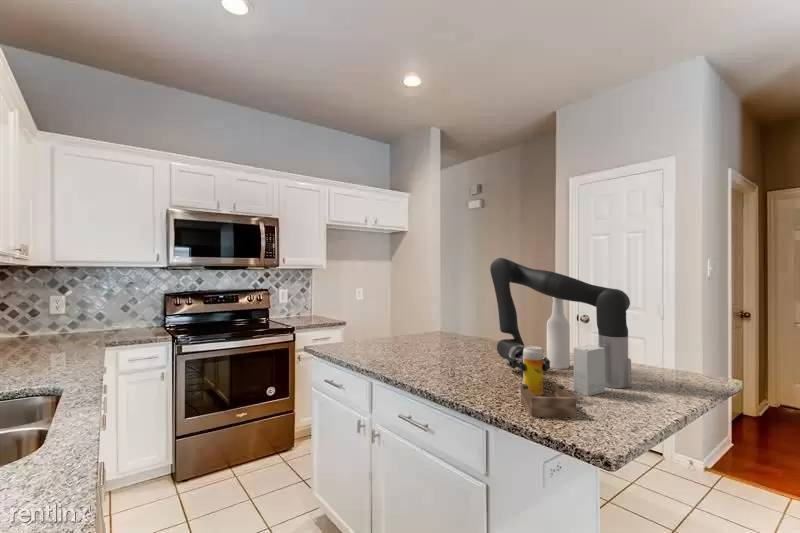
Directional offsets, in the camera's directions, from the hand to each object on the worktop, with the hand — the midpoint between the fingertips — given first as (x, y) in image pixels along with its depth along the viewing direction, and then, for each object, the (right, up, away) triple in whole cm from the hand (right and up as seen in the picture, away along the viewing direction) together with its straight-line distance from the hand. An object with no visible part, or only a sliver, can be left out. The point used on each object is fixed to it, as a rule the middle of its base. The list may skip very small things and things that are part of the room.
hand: (535, 368), depth 130 cm
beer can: (0, -9, +2) cm, 10 cm away
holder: (-1, -9, -11) cm, 14 cm away
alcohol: (+22, -10, +40) cm, 46 cm away
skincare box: (+19, -9, +5) cm, 22 cm away
